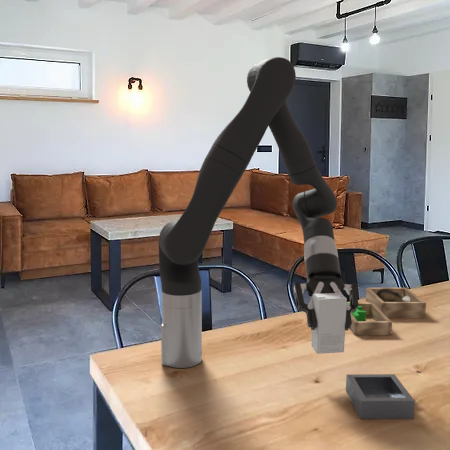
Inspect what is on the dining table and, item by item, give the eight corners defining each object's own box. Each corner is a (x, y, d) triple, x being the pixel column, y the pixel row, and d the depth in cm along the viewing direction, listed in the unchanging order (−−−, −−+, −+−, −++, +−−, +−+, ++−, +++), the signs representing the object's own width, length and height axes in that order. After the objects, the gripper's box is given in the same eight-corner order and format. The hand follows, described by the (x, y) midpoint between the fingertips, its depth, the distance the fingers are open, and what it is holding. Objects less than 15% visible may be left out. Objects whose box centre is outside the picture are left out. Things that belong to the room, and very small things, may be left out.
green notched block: (368, 331, 141) (369, 315, 140) (354, 331, 141) (355, 315, 140) (358, 317, 152) (359, 302, 151) (345, 317, 152) (346, 302, 151)
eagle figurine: (397, 301, 163) (371, 297, 161) (407, 286, 159) (381, 282, 157) (404, 320, 158) (378, 316, 156) (416, 305, 153) (389, 301, 151)
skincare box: (336, 345, 112) (340, 291, 110) (344, 353, 107) (348, 298, 105) (309, 346, 111) (312, 292, 109) (316, 355, 106) (319, 298, 104)
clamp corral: (354, 335, 137) (354, 322, 137) (339, 314, 154) (339, 302, 154) (391, 334, 138) (392, 322, 137) (372, 313, 154) (373, 302, 154)
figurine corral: (381, 317, 151) (381, 303, 150) (365, 301, 167) (366, 287, 166) (425, 317, 151) (426, 302, 150) (405, 300, 167) (406, 287, 166)
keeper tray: (360, 419, 96) (361, 401, 95) (345, 390, 107) (346, 374, 106) (413, 418, 96) (414, 400, 95) (393, 390, 107) (394, 374, 106)
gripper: (292, 250, 113) (298, 320, 103) (357, 252, 113) (369, 321, 104) (287, 268, 119) (293, 335, 109) (349, 269, 119) (360, 336, 110)
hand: (330, 328), depth 107 cm, fingers closed on skincare box, 6 cm apart
